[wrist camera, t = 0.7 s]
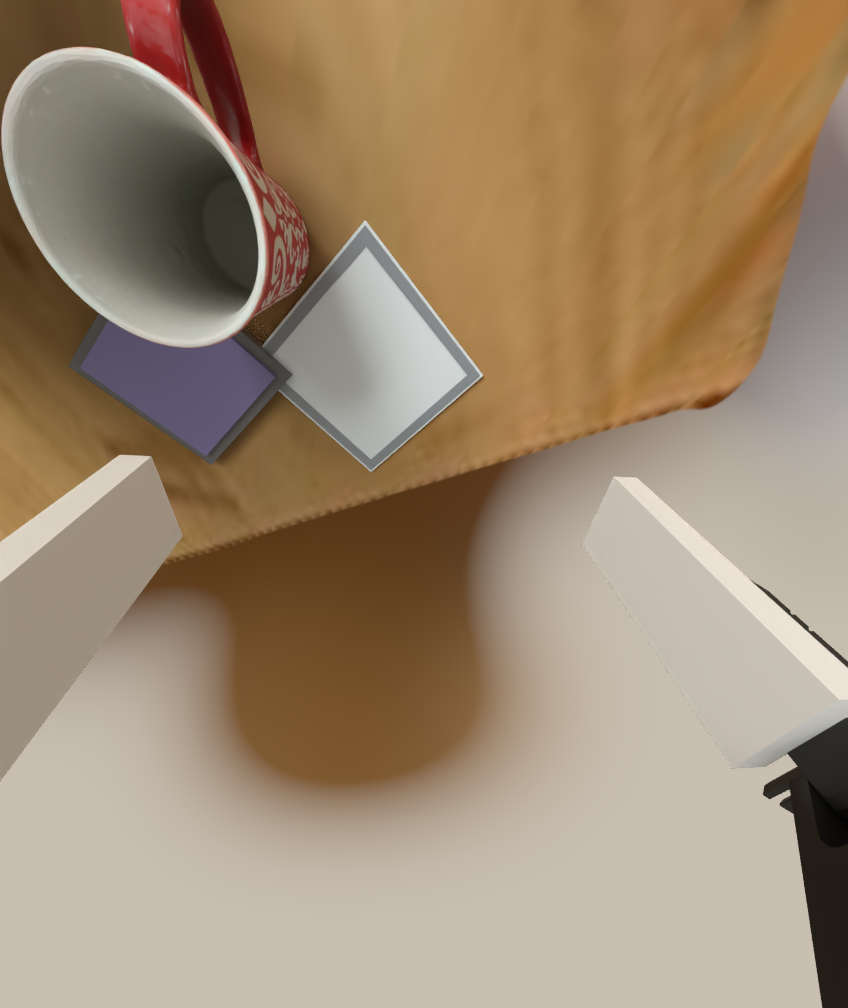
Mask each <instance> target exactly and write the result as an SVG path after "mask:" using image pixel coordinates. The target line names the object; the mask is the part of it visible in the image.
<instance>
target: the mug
mask: <svg viewBox="0 0 848 1008" xmlns="http://www.w3.org/2000/svg"><path fill="white" fill-rule="evenodd" d="M120 1H121V7H122V11H123V16H124V22H125V27H126V31H127V35H128V38H129V42H130V46H131V50H132V53H133V56H134V58H133V57H131V56H125V55H123V54H120V53H117V52H113V51H109V50H105V49H101V48H93V47H71V48H64V49H58V50H55V51H51V52H49V53H46V54H44V55H42V56H41V57H39V58H37V59H34V60H32V62H31V63H30V64H29V65H28V66H27V67H25V68H24V69H23V71H22V72H21V73H20V74H19V76H18V77H17V79H16V80H15V82H14V83H13V85H12V87H11V89H10V91H9V94H8V96H7V99H6V102H5V105H4V110H3V116H2V126H1V144H2V154H3V162H4V168H5V172H6V175H7V179H8V183H9V186H10V189H11V192H12V196H13V199H14V201H15V203H16V206H17V208H18V211H19V213H20V215H21V217H22V219H23V221H24V223H25V225H26V227H27V229H28V231H29V233H30V234H31V236H32V238H33V240H34V242H35V243H36V245H37V246H38V248H39V250H40V251H41V253H42V254H43V255H44V257H45V258H46V260H47V261H48V262H49V264H50V265H51V266H52V268H53V269H54V270H55V271H56V272H57V274H58V275H59V276H60V277H61V279H62V280H63V281H64V282H65V283H66V284H67V285H68V286H69V287H70V288H71V289H72V290H73V291H74V292H75V293H76V294H77V295H78V296H79V297H80V298H81V299H82V300H83V301H85V302H86V303H87V304H88V305H89V306H91V307H92V308H93V309H94V310H96V311H97V312H98V313H99V314H101V315H102V316H104V317H105V318H106V319H108V320H109V321H111V322H113V323H114V324H116V325H117V326H119V327H121V328H123V329H124V330H126V331H128V332H130V333H132V334H134V335H136V336H139V337H141V338H144V339H146V340H148V341H151V342H154V343H158V344H161V345H167V346H172V347H179V348H200V347H207V346H211V345H215V344H218V343H221V342H223V341H225V340H227V339H230V338H231V337H233V336H234V335H236V334H237V333H239V332H240V331H241V330H242V329H243V328H244V327H245V326H246V325H247V324H248V323H249V322H250V321H251V319H252V318H253V317H255V316H257V315H258V314H260V313H261V312H263V311H264V310H266V309H267V308H269V307H270V306H272V305H273V304H275V303H277V302H278V301H280V300H282V299H284V298H285V297H287V296H289V295H290V294H292V293H293V292H294V291H295V290H296V289H297V288H298V287H299V286H300V284H301V283H302V281H303V279H304V278H305V275H306V273H307V269H308V265H309V259H310V245H309V238H308V234H307V230H306V227H305V224H304V221H303V218H302V216H301V214H300V212H299V210H298V208H297V207H296V205H295V203H294V202H293V201H292V199H291V198H290V197H289V195H288V194H287V193H286V192H285V190H284V189H283V188H282V187H281V186H280V185H279V184H278V183H276V182H275V181H274V180H273V179H272V178H270V177H269V176H268V175H267V174H266V173H265V172H264V170H263V168H262V165H261V162H260V158H259V154H258V150H257V146H256V141H255V136H254V131H253V127H252V123H251V119H250V115H249V110H248V106H247V102H246V99H245V95H244V91H243V87H242V84H241V80H240V76H239V73H238V69H237V66H236V63H235V59H234V56H233V52H232V49H231V46H230V42H229V39H228V37H227V34H226V31H225V29H224V26H223V23H222V20H221V18H220V15H219V13H218V10H217V8H216V5H215V3H214V1H213V0H120ZM182 27H183V30H184V32H185V34H186V37H187V39H188V42H189V44H190V47H191V49H192V52H193V55H194V58H195V61H196V63H197V65H198V68H199V70H200V73H201V76H202V78H203V81H204V84H205V87H206V90H207V93H208V95H209V98H210V101H211V103H212V106H213V110H214V113H215V116H216V119H217V123H218V125H217V124H216V123H215V121H214V120H213V119H212V118H211V117H210V115H209V114H208V113H207V112H206V111H205V110H204V109H203V107H202V105H201V103H200V101H199V98H198V96H197V93H196V90H195V87H194V83H193V79H192V75H191V71H190V67H189V63H188V59H187V54H186V49H185V43H184V37H183V31H182Z"/></svg>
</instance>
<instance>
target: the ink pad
mask: <svg viewBox="0 0 848 1008" xmlns="http://www.w3.org/2000/svg"><path fill="white" fill-rule="evenodd" d="M68 366H69V367H70V368H72V369H73V370H75V371H76V372H77V373H79V374H80V375H82V376H83V377H85V378H86V379H88V380H89V381H91V382H92V383H93V384H95V385H96V386H98V387H99V388H101V389H102V390H104V391H105V392H106V393H108V394H109V395H111V396H112V397H114V398H115V399H117V400H118V401H119V402H121V403H122V404H124V405H125V406H127V407H128V408H130V409H131V410H132V411H134V412H135V413H137V414H138V415H140V416H141V417H143V418H144V419H146V420H147V421H148V422H150V423H151V424H153V425H154V426H156V427H157V428H159V429H160V430H161V431H163V432H164V433H166V434H167V435H169V436H170V437H172V438H173V439H174V440H176V441H177V442H179V443H180V444H182V445H183V446H185V447H186V448H187V449H189V450H190V451H192V452H193V453H195V454H196V455H198V456H199V457H201V458H202V459H203V460H205V461H206V462H208V463H209V464H211V465H212V464H213V463H214V462H215V461H216V460H217V459H218V457H219V456H220V455H221V454H222V453H223V452H224V451H225V450H226V449H227V447H228V446H229V445H230V444H231V443H232V442H233V441H234V440H235V439H236V437H237V436H238V435H239V434H240V433H241V432H242V431H243V430H244V428H245V427H246V426H247V425H248V424H249V423H250V422H251V421H252V420H253V418H254V417H255V416H256V415H257V414H258V413H259V412H260V411H261V410H262V408H263V407H264V406H265V405H266V404H267V403H268V402H269V401H270V399H271V398H272V397H273V396H274V395H275V394H276V393H277V392H278V391H279V389H280V388H281V387H282V386H283V385H284V384H285V383H286V382H287V380H288V379H289V378H290V377H291V376H292V375H293V374H292V373H291V372H289V371H288V370H287V369H286V368H285V367H284V366H283V365H282V364H281V363H280V362H279V361H278V360H276V359H275V358H274V357H273V356H271V355H270V354H269V353H268V352H267V351H266V350H265V349H264V348H263V347H262V344H261V343H260V342H259V341H258V340H257V339H256V338H255V337H253V336H252V335H251V334H250V333H249V332H248V331H247V330H246V329H245V328H243V329H242V330H241V331H240V332H239V333H237V334H236V335H234V336H233V337H231V338H230V339H227V340H225V341H223V342H221V343H218V344H215V345H211V346H207V347H200V348H179V347H172V346H167V345H161V344H158V343H154V342H151V341H148V340H146V339H144V338H141V337H139V336H136V335H134V334H132V333H130V332H128V331H126V330H124V329H123V328H121V327H119V326H117V325H116V324H114V323H113V322H111V321H109V320H108V319H106V318H105V317H104V316H102V315H101V314H99V313H98V315H97V317H96V319H95V320H94V322H93V324H92V326H91V327H90V329H89V331H88V332H87V334H86V336H85V338H84V339H83V341H82V343H81V344H80V346H79V348H78V350H77V351H76V353H75V355H74V357H73V358H72V360H71V362H70V363H69V365H68Z"/></svg>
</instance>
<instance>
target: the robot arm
mask: <svg viewBox="0 0 848 1008" xmlns="http://www.w3.org/2000/svg"><path fill="white" fill-rule="evenodd" d="M182 537H183V535H182V533H181V530H180V527H179V525H178V522H177V520H176V517H175V515H174V512H173V510H172V507H171V505H170V502H169V500H168V497H167V495H166V492H165V489H164V487H163V484H162V482H161V479H160V477H159V474H158V472H157V469H156V467H155V464H154V462H153V459H152V457H151V456H134V455H119V456H117V457H116V458H115V459H113V460H112V461H111V462H109V463H108V464H106V465H105V466H104V467H102V468H101V469H100V470H98V471H97V472H96V473H94V474H93V475H91V476H90V477H89V478H87V479H86V480H85V481H83V482H82V483H80V484H79V485H78V486H76V487H75V488H74V489H72V490H71V491H69V492H68V493H67V494H65V495H64V496H63V497H61V498H60V499H59V500H57V501H56V502H54V503H53V504H52V505H50V506H49V507H48V508H46V509H45V510H43V511H42V512H41V513H39V514H38V515H37V516H35V517H34V518H33V519H31V520H30V521H28V522H27V523H26V524H24V525H23V526H22V527H20V528H19V529H17V530H16V531H15V532H13V533H12V534H11V535H9V536H8V537H7V538H5V539H4V540H2V541H1V542H0V781H1V779H2V778H3V777H4V775H5V774H6V773H7V771H8V770H9V769H10V767H11V766H12V765H13V763H14V762H15V761H16V759H17V758H18V757H19V755H20V754H21V753H22V751H23V750H24V748H25V747H26V746H27V744H28V743H29V742H30V741H31V739H32V738H33V737H34V735H35V734H36V732H37V731H38V730H39V728H40V727H41V726H42V724H43V723H44V722H45V720H46V719H47V718H48V716H49V715H50V714H51V712H52V711H53V710H54V708H55V707H56V706H57V704H58V703H59V701H60V700H61V699H62V698H63V696H64V695H65V693H66V692H67V691H68V690H69V688H70V687H71V685H72V684H73V683H74V681H75V680H76V679H77V677H78V676H79V675H80V673H81V672H82V671H83V669H84V668H85V667H86V665H87V664H88V663H89V661H90V660H91V659H92V657H93V656H94V654H95V653H96V652H97V651H98V649H99V648H100V647H101V645H102V644H103V643H104V641H105V640H106V638H107V637H108V635H109V634H110V633H111V632H112V630H113V629H114V628H115V626H116V625H117V624H118V622H119V621H120V620H121V618H122V617H123V616H124V614H125V613H126V612H127V610H128V609H129V608H130V606H131V605H132V604H133V602H134V601H135V599H136V598H137V597H138V596H139V594H140V593H141V592H142V590H143V589H144V587H145V586H146V585H147V583H148V582H149V581H150V580H151V578H152V577H153V575H154V574H155V573H156V571H157V570H158V569H159V567H160V566H161V565H162V563H163V562H164V561H165V559H166V558H167V557H168V555H169V554H170V553H171V551H172V550H173V549H174V547H175V546H176V545H177V543H178V542H179V541H180V539H181V538H182ZM582 544H583V546H584V548H585V549H586V551H587V552H588V553H589V555H590V557H591V558H592V559H593V561H594V563H595V564H596V566H597V567H598V569H599V570H600V571H601V573H602V575H603V576H604V578H605V579H606V580H607V582H608V584H609V585H610V587H611V588H612V590H613V591H614V593H615V594H616V596H617V597H618V599H619V600H620V602H621V603H622V605H623V606H624V608H625V609H626V611H627V612H628V613H629V615H630V617H631V618H632V620H633V621H634V623H635V624H636V626H637V627H638V629H639V630H640V632H641V633H642V635H643V636H644V638H645V639H646V641H647V642H648V644H649V645H650V647H651V648H652V650H653V651H654V653H655V654H656V656H657V657H658V659H659V660H660V662H661V663H662V665H663V666H664V668H665V669H666V671H667V673H668V674H669V675H670V677H671V678H672V680H673V681H674V683H675V685H676V686H677V688H678V689H679V690H680V692H681V694H682V695H683V697H684V698H685V700H686V701H687V702H688V704H689V706H690V707H691V709H692V710H693V712H694V713H695V714H696V716H697V718H698V719H699V721H700V722H701V724H702V725H703V727H704V728H705V730H706V731H707V733H708V734H709V736H710V737H711V739H712V740H713V741H714V743H715V745H716V746H717V748H718V749H719V751H720V752H721V754H722V755H723V757H724V758H725V760H726V761H727V763H728V764H729V766H730V767H731V769H736V768H752V767H766V766H767V765H769V764H771V763H773V762H774V761H776V760H778V759H779V758H781V757H783V756H784V755H786V754H788V755H789V756H790V757H791V758H792V760H793V761H794V762H795V763H796V765H797V766H798V767H796V768H794V769H792V770H791V771H789V772H787V773H785V774H783V775H781V776H780V777H778V778H776V779H774V780H772V781H771V782H769V783H768V784H766V785H765V786H764V792H763V795H764V796H766V797H767V798H769V799H771V798H773V797H775V796H777V795H779V794H781V793H783V792H785V791H787V790H790V793H791V796H789V797H787V798H785V799H783V800H782V802H781V803H780V806H782V807H783V808H785V809H786V810H788V811H790V812H791V813H793V814H794V819H795V826H796V833H797V840H798V846H799V852H800V860H801V866H802V873H803V880H804V887H805V894H806V900H807V907H808V914H809V920H810V927H811V933H812V941H813V947H814V953H815V961H816V968H817V974H818V981H819V988H820V994H821V1001H822V1008H848V661H846V660H845V659H844V658H843V657H842V656H841V655H840V654H839V653H838V652H836V651H835V650H834V649H833V648H832V647H831V646H830V645H828V644H827V643H826V642H825V641H824V640H823V639H822V638H821V637H819V636H818V635H817V634H816V633H815V632H814V631H809V629H808V628H809V627H808V626H807V625H806V624H805V623H803V621H801V620H800V619H799V618H798V617H797V616H796V615H792V614H791V613H790V610H789V609H788V608H787V607H786V606H785V605H783V604H782V603H781V602H780V601H779V600H778V599H777V598H776V597H774V596H773V595H772V594H771V593H770V592H769V591H767V590H766V589H764V588H763V587H761V586H759V585H758V584H756V583H754V582H753V581H751V580H750V579H748V578H747V577H746V576H745V575H744V574H743V573H742V572H741V571H740V570H738V569H737V568H736V567H735V566H734V565H733V564H732V563H731V562H730V561H728V560H727V559H726V558H725V557H724V556H723V555H722V554H721V553H719V552H718V551H717V550H716V549H715V548H714V547H713V546H712V545H710V544H709V543H708V542H707V541H706V540H705V539H704V538H703V537H702V536H701V535H700V534H698V533H697V532H696V531H695V530H694V529H693V528H692V527H691V526H690V525H688V524H687V523H686V522H685V521H684V520H683V519H682V518H680V516H678V515H677V514H676V513H675V512H674V511H673V510H672V509H671V508H670V507H669V506H667V505H666V504H665V503H664V502H663V501H662V500H661V499H660V498H659V497H657V496H656V495H655V494H654V493H653V492H652V491H651V490H650V489H649V488H647V487H646V486H645V485H644V484H643V483H642V482H641V481H640V480H639V479H637V478H629V477H613V479H612V482H611V484H610V486H609V488H608V490H607V492H606V494H605V496H604V499H603V501H602V503H601V505H600V507H599V509H598V511H597V513H596V516H595V518H594V520H593V522H592V524H591V527H590V528H589V530H588V533H587V535H586V537H585V539H584V541H583V543H582Z"/></svg>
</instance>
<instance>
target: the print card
mask: <svg viewBox="0 0 848 1008" xmlns="http://www.w3.org/2000/svg"><path fill="white" fill-rule="evenodd" d="M262 347H263V348H264V349H265V350H266V351H267V352H268V353H269V354H270V355H271V356H273V357H274V358H275V359H276V360H278V361H279V362H280V363H281V364H282V365H283V366H284V367H285V368H286V369H287V370H288V371H289V372H291V373H292V374H293V375H292V376H291V377H290V378H289V379H288V380H287V382H286V383H285V384H284V385H283V386H282V387H281V388H280V389H279V392H280V393H282V394H283V395H284V396H285V397H286V398H287V399H288V400H289V401H291V402H292V403H293V404H294V405H295V406H296V407H297V408H299V409H300V410H301V411H302V412H303V413H304V414H305V415H307V416H308V417H309V418H310V419H311V420H312V421H313V422H315V423H316V424H317V425H318V426H319V427H320V428H321V429H323V430H324V431H325V432H326V433H327V434H328V435H329V436H331V437H332V438H333V439H334V440H335V441H336V442H337V443H339V444H340V445H341V446H342V447H343V448H344V449H345V450H347V451H348V452H349V453H350V454H351V455H352V456H353V457H354V458H356V459H357V460H358V461H359V462H360V463H361V464H362V465H364V466H365V467H366V468H367V469H368V470H369V471H370V472H372V471H373V470H374V469H375V468H377V467H378V466H379V465H380V464H381V463H382V462H384V461H385V460H386V459H387V458H388V457H389V456H391V455H392V454H393V453H394V452H395V451H396V450H398V449H399V448H400V447H401V446H402V445H403V444H404V443H406V442H407V441H408V440H409V439H410V438H411V437H413V436H414V435H415V434H416V433H417V432H418V431H420V430H421V429H422V428H423V427H424V426H425V425H427V424H428V423H429V422H430V421H431V420H432V419H434V418H435V417H436V416H437V415H438V414H439V413H440V412H442V411H443V410H444V409H445V408H446V407H447V406H449V405H450V404H451V403H452V402H453V401H454V400H456V399H457V398H458V397H459V396H460V395H461V394H463V393H464V392H465V391H466V390H467V389H468V388H470V387H471V386H472V385H473V384H474V383H475V382H476V381H478V380H479V379H480V378H481V377H482V376H483V375H482V373H481V372H480V371H479V369H478V368H477V367H476V365H475V364H474V363H473V361H472V360H471V359H470V357H469V356H468V355H467V353H466V352H465V351H464V349H463V348H462V347H461V346H460V344H459V343H458V342H457V340H456V339H455V338H454V336H453V335H452V334H451V332H450V331H449V330H448V328H447V327H446V326H445V324H444V323H443V322H442V321H441V319H440V318H439V317H438V315H437V314H436V313H435V311H434V310H433V309H432V307H431V306H430V305H429V303H428V302H427V301H426V299H425V298H424V297H423V295H422V294H421V293H420V292H419V290H418V289H417V288H416V286H415V285H414V284H413V282H412V281H411V280H410V278H409V277H408V276H407V274H406V273H405V272H404V270H403V269H402V268H401V267H400V265H399V264H398V263H397V261H396V260H395V259H394V257H393V256H392V255H391V253H390V252H389V251H388V249H387V248H386V247H385V245H384V244H383V243H382V242H381V240H380V239H379V238H378V236H377V235H376V234H375V232H374V231H373V230H372V228H371V227H370V226H369V224H368V223H367V222H366V220H365V221H364V222H363V223H362V225H361V226H360V227H359V228H358V229H357V231H356V232H355V233H354V234H353V236H352V237H351V238H350V239H349V240H348V242H347V243H346V244H345V245H344V246H343V248H342V249H341V250H340V251H339V253H338V254H337V255H336V256H335V257H334V259H333V260H332V261H331V262H330V264H329V265H328V266H327V267H326V268H325V270H324V271H323V272H322V273H321V274H320V276H319V277H318V278H317V279H316V281H315V282H314V283H313V284H312V285H311V287H310V288H309V289H308V290H307V292H306V293H305V294H304V295H303V296H302V298H301V299H300V300H299V301H298V302H297V304H296V305H295V306H294V307H293V309H292V310H291V311H290V312H289V313H288V315H287V316H286V317H285V318H284V320H283V321H282V322H281V323H280V324H279V326H278V327H277V328H276V329H275V330H274V332H273V333H272V334H271V335H270V337H269V338H268V339H267V340H266V341H265V343H264V344H263V345H262Z"/></svg>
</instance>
